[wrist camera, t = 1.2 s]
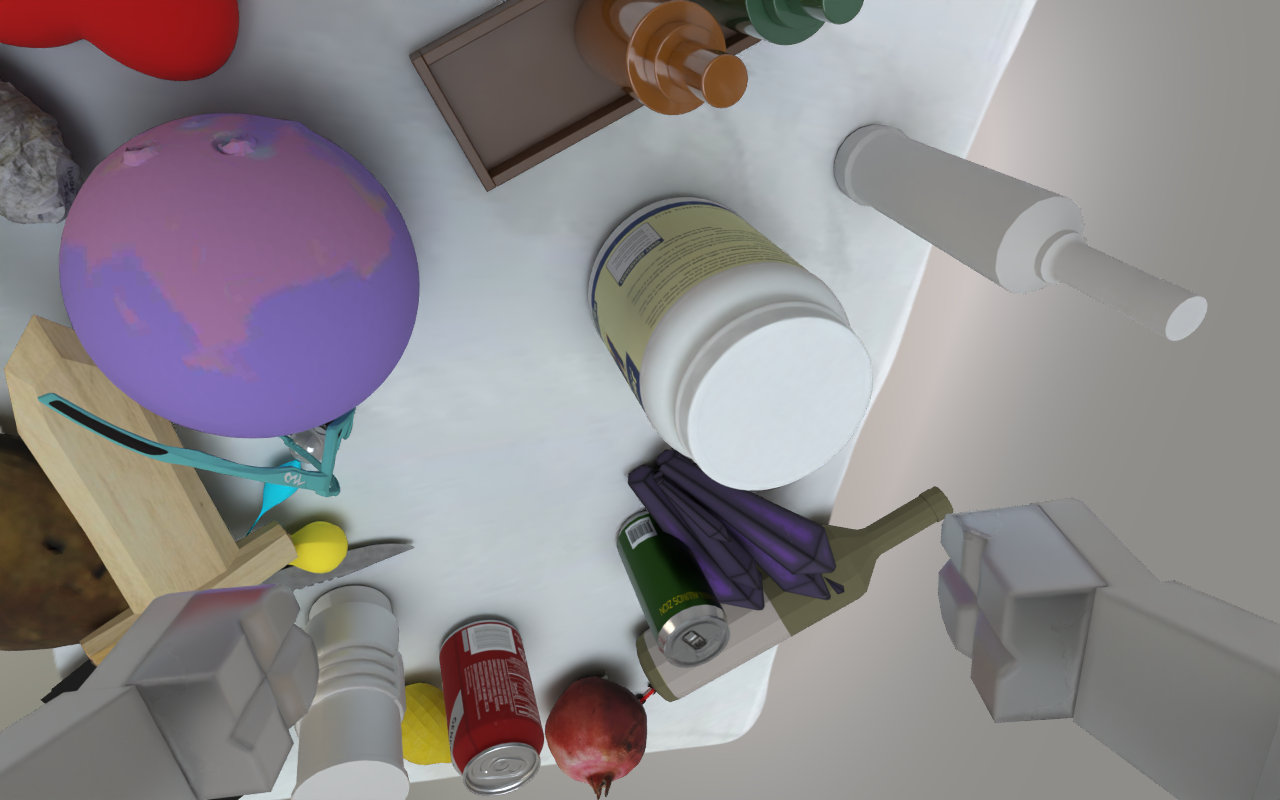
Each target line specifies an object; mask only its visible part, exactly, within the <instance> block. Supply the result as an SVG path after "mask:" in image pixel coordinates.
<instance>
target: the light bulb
mask: <svg viewBox="0 0 1280 800" xmlns="http://www.w3.org/2000/svg"><path fill="white" fill-rule="evenodd" d="M291 537H292V540H293V543H294V546H295V549H296V552H297V555H298V558H296V559H295V560H293V561H292V562H290V563H289V564H287V565H294V566H296V567H298V568H301V569H303V570H306V571H309V572H313V573H326V572H330V571H332V570H333V569H335V568H336V567H338V565H339V564H340V563H341V562H342V560H343V559H344V558H345V557H346V553H347V549H348V541H347V538H346V536H345V533H344V531H343V530H342V529H341V528H340V527H338V526H335V525H333V524H330V523H328V522H322V521H317V522H313V523H310V524H308V525H306V526H305V527H303V528H302V529H300V530H299V531H297V532H296V533H294V534H292V535H291Z"/></svg>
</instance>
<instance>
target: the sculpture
mask: <svg viewBox="0 0 1280 800" xmlns="http://www.w3.org/2000/svg"><path fill="white" fill-rule="evenodd" d="M129 607H130V606H129V604H128V603H127V601H126V599H125V598H124V596H123V594H122V593H121V591H120V589H119V588H118V586H117V584H116V583H115V581H114V579H113V578H112V576H111V574H110V573H109V571H108V569H107V568H106V566H105V564H104V563H103V561H102V560H101V558H100V556H99V555H98V553H97V551H96V550H95V548H94V546H93V545H92V543H91V541H90V540H89V538H88V536H87V535H86V533H85V532H84V530H83V529H82V527H81V526H80V524H79V523H78V521H77V520H76V518H75V517H74V515H73V514H72V512H71V511H70V509H69V508H68V506H67V505H66V503H65V502H64V500H63V499H62V497H61V496H60V494H59V493H58V491H57V490H56V488H55V487H54V485H53V484H52V482H51V481H50V479H49V478H48V476H47V475H46V474H45V472H44V471H43V469H42V468H41V466H40V465H39V463H38V462H37V460H36V459H35V457H34V456H33V454H32V453H31V451H30V450H29V448H28V447H27V445H26V444H25V442H24V441H23V440H22V439H19V438H16V437H13V436H9V435H5V434H1V433H0V650H4V651H22V650H36V649H37V650H38V649H49V648H57V647H62V646H67V645H73V644H80V641H81V640H82V639H83V638H85V637H86V636H88V635H89V634H91V633H92V632H94V631H95V630H97V629H98V628H100V627H101V626H103V625H104V624H106V623H107V622H109V621H110V620H112V619H113V618H115V617H116V616H118V615H119V614H121V613H122V612H123V611H125V610H126V609H128V608H129Z"/></svg>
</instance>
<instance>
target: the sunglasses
mask: <svg viewBox="0 0 1280 800" xmlns="http://www.w3.org/2000/svg"><path fill="white" fill-rule="evenodd" d="M37 399H38V400H39V402H41V403H43V404H44V405H46V406H47V407H49V408H51V409H52V410H54V411H56V412H57V413H59V414H61V415H62V416H64V417H66V418H67V419H69V420H71V421H72V422H74V423H76V424H78V425H80V426H82V427H83V428H85V429H87V430H89V431H91V432H93V433H95V434H97V435H99V436H101V437H103V438H105V439H107V440H109V441H111V442H113V443H115V444H117V445H119V446H121V447H124V448H126V449H129V450H131V451H134V452H136V453H139V454H141V455H144V456H146V457H149V458H152V459H155V460H159V461H162V462H166V463H172V464H179V465H185V466H191V467H195V468H200V469H204V470H209V471H213V472H218V473H222V474H227V475H232V476H237V477H242V478H247V479H252V480H256V481H261V482H266V483H271V484H277V485H283V486H290V487H296V488H302V489H309V490H315V491H316V494H319V495H321V496H324V497H330V496H337V495H338V494H339V493H340V486H339V483H338V480H337V479H336V477H335V476H334V475H333V469H334V464H335V457H336V453H337V450H339V446H340V442H341V438H342V437H343V438H344V439H345V440H346V439H347V438H348V437H349V435H350V433H351V430H352V425H353V417H354V414H355V409H356V407H354V408H353V409H351V410H350V411H348V412H347V413H345V414H343V415H342V416H340V417H338V418H336V419H334V420H332V421H330V422H327V423H325V425H326V427H327V429H326V435H325V444H324V452H323V458H322V463H321V462H319V461H318V460H317V459H316V458H315V457H314V456H313V455H310V453H308V451H306V450H305V449H303V448H302V447H301V446H298V444H295V442H294V440H293V439H292V438H290V437H288V436H287V435H285V436H278V437H280V438H282V439H283V440H284V443H285V445H286V446H288V447H289V448H291V449H292V450H294V451H295V452H296V453H298V454H299V455H301V456H302V457H304V458H305V459H306V460H308V461H309V462H310V463H311V464H312V465H313V466H314V467H316V468H317V469H318V470H319V471H306V470H303V469H299V468H296V467H294V466H283V467H254V466H247V465H241V464H237V463H234V462H231V461H228V460H225V459H222V458H219V457H216V456H213V455H209V454H207V453H204V452H201V451H198V450H191V449H185V448H179V447H173V446H167V445H164V444H161V443H158V442H154V441H151V440H148V439H146V438H144V437H141V436H139V435H136V434H134V433H131V432H129V431H127V430H124V429H122V428H119V427H117V426H115V425H113V424H111V423H109V422H107V421H105V420H103V419H101V418H99V417H97V416H95V415H93V414H92V413H90V412H88V411H86V410H84V409H82V408H81V407H79V406H77V405H75V404H74V403H72V402H70V401H68V400H66V399H65V398H63V397H61V396H59V395H57V394H55V393H47V394H44V395H42V396H39V397H37ZM329 486H330V488H329Z"/></svg>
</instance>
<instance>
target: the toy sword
mask: <svg viewBox="0 0 1280 800" xmlns="http://www.w3.org/2000/svg"><path fill="white" fill-rule="evenodd" d="M4 371H5V376H6V380H7V385H8V389H9V394H10V398H11V403H12V408H13V412H14V417H15V421H16V426H17V430H18V433H19V435H20V436H21V438H22V439H23V441H24V442H25V444H26V445H27V447H28V448H29V450H30V451H31V453H32V454H33V456H34V457H35V459H36V460H37V462H38V463H39V465H40V466H41V468H42V469H43V471H44V472H45V474H46V475H47V476H48V478H49V479H50V481H51V482H52V484H53V485H54V487H55V488H56V490H57V491H58V493H59V494H60V496H61V497H62V499H63V500H64V502H65V503H66V505H67V506H68V508H69V509H70V511H71V512H72V514H73V515H74V517H75V518H76V520H77V521H78V523H79V524H80V526H81V527H82V529H83V530H84V532H85V533H86V535H87V536H88V538H89V540H90V541H91V543H92V545H93V546H94V548H95V550H96V551H97V553H98V555H99V556H100V558H101V560H102V561H103V563H104V564H105V566H106V568H107V569H108V571H109V573H110V574H111V576H112V578H113V579H114V581H115V583H116V584H117V586H118V588H119V589H120V591H121V593H122V594H123V596H124V598H125V599H126V601H127V603H128V604H129V606H130V607H129V608H128V609H126V610H125V611H123V612H122V613H121V614H119V615H118V616H116V617H115V618H113V619H112V620H110V621H109V622H107V623H106V624H104V625H103V626H101V627H100V628H98V629H97V630H95V631H94V632H92V633H91V634H89V635H88V636H86V637H85V638H83V639H82V640H81V641H80V644H81V646H82V648H83V649H84V651H85V653H86V654H87V656H88V658H89V659H90V661H91V662H92V664H93V665H95V666H97V667H98V665H99V664H100V663H101V662H102V661H103V659H104V658H105V657H106V656H107V655H108V653H109V652H110V651H111V650H112V649H113V647H114V646H115V645H116V644H117V643H118V641H119V640H120V639H121V638H122V637H123V636H124V634H125V633H126V632H127V631H128V630H129V628H130V627H131V626H132V625H133V624H134V622H135V621H136V620H137V619H138V618H139V616H140V615H141V614H142V613H143V612H144V610H145V609H146V608H147V607H148V606H149V604H150V603H151V602H152V601H153V600H154V599H155V598H157V597H160V596H162V595H165V594H168V593H177V592H187V591H197V590H200V591H204V590H207V589H219V588H231V587H243V586H255V585H259V584H260V583H262V582H263V581H265V580H266V579H267V578H269V577H270V576H272V575H273V574H275V573H276V572H277V571H279V570H280V569H282V568H283V567H285V566H286V565H287V564H289V563H290V562H292V561H293V560H295V559H296V558H298V555H297V552H296V549H295V546H294V543H293V540H292V537H291V535H290V534H289V533H288V532H287V531H286V530H285V529H284V528H283V527H282V526H281V525H280V524H279V523H278V522H277V521H273V522H271V523H269V524H267V525H266V526H264V527H262V528H260V529H258V530H257V531H255V532H253V533H251V534H249V535H248V536H246V537H244V538H242V539H240V540H239V541H237V542H235V541H234V539H233V538H232V536H231V534H230V532H229V530H228V529H227V527H226V525H225V523H224V521H223V520H222V518H221V516H220V514H219V512H218V511H217V509H216V507H215V505H214V503H213V502H212V500H211V498H210V496H209V494H208V493H207V491H206V489H205V487H204V485H203V484H202V482H201V480H200V478H199V476H198V475H197V473H196V471H195V469H194V467H191V466H185V465H179V464H172V463H166V462H162V461H159V460H155V459H152V458H149V457H146V456H144V455H141V454H139V453H136V452H134V451H131V450H129V449H126V448H124V447H121V446H119V445H117V444H115V443H113V442H111V441H109V440H107V439H105V438H103V437H101V436H99V435H97V434H95V433H93V432H91V431H89V430H87V429H85V428H83V427H82V426H80V425H78V424H76V423H74V422H72V421H71V420H69V419H67V418H66V417H64V416H62V415H61V414H59V413H57V412H56V411H54V410H52V409H51V408H49V407H47V406H46V405H44V404H43V403H41V402H39V400H38V399H37V397H39V396H42V395H44V394H47V393H55V394H57V395H59V396H61V397H63V398H65V399H66V400H68V401H70V402H72V403H74V404H75V405H77V406H79V407H81V408H82V409H84V410H86V411H88V412H90V413H92V414H93V415H95V416H97V417H99V418H101V419H103V420H105V421H107V422H109V423H111V424H113V425H115V426H117V427H119V428H122V429H124V430H127V431H129V432H131V433H134V434H136V435H139V436H141V437H144V438H146V439H148V440H151V441H154V442H158V443H161V444H164V445H167V446H173V447H179V448H184V447H183V445H182V443H181V441H180V439H179V438H178V436H177V434H176V432H175V430H174V428H173V426H172V424H171V422H170V421H169V420H167V419H165V418H163V417H161V416H159V415H157V414H155V413H153V412H151V411H150V410H148V409H146V408H144V407H143V406H141V405H140V404H138V403H137V402H135V401H134V400H133V399H131V398H130V397H129V396H127V395H126V394H125V393H124V392H122V391H121V390H120V389H119V388H118V387H116V386H115V385H114V384H113V383H112V382H111V381H110V380H109V379H108V378H107V377H106V376H105V375H104V373H103V372H102V371H101V370H100V369H99V368H98V367H97V365H96V364H95V363H94V361H93V360H92V359H91V357H90V356H89V355H88V353H87V352H86V350H85V348H84V347H83V345H82V344H81V342H80V340H79V338H78V336H77V334H76V332H75V330H73V329H70V328H68V327H65V326H63V325H60V324H57V323H55V322H52V321H50V320H47V319H44V318H42V317H39V316H37V315H34V314H33V316H32V318H31V320H30V321H29V323H28V325H27V327H26V329H25V331H24V333H23V335H22V336H21V338H20V340H19V342H18V344H17V346H16V348H15V350H14V351H13V353H12V355H11V357H10V359H9V361H8V363H7V364H6V366H5V368H4Z"/></svg>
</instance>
